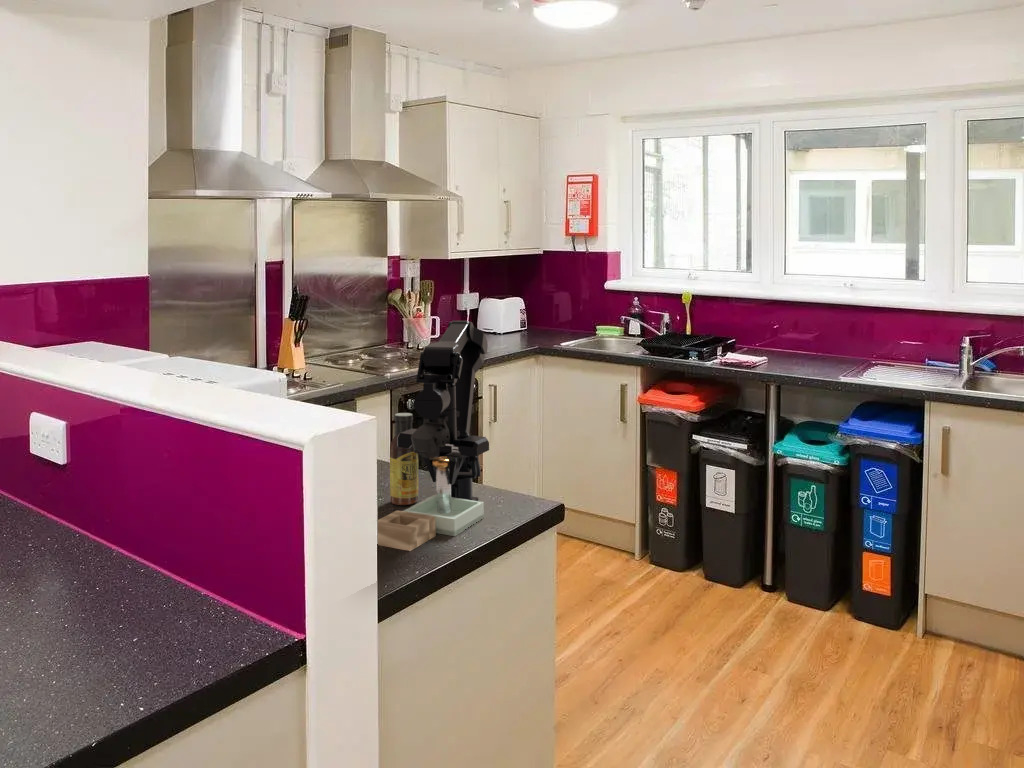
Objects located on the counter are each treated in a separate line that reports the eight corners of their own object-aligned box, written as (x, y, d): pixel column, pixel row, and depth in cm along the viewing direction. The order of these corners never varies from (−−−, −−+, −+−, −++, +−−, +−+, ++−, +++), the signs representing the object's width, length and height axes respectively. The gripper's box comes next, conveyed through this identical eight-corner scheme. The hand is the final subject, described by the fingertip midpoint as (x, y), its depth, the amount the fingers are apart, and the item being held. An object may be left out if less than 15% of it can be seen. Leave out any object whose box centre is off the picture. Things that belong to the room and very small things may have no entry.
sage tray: (434, 510, 191) (434, 494, 190) (484, 518, 185) (483, 502, 185) (403, 527, 180) (403, 510, 179) (454, 536, 175) (454, 519, 174)
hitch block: (397, 529, 179) (396, 510, 178) (435, 536, 175) (435, 516, 174) (371, 543, 171) (370, 523, 170) (410, 551, 167) (409, 530, 166)
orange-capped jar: (440, 506, 185) (439, 455, 183) (458, 509, 183) (457, 457, 181) (429, 512, 181) (427, 460, 179) (447, 515, 179) (446, 463, 177)
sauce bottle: (404, 508, 192) (402, 418, 188) (384, 503, 196) (381, 415, 192) (425, 501, 197) (423, 413, 194) (405, 496, 201) (402, 410, 197)
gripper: (380, 411, 175) (382, 487, 178) (462, 420, 167) (463, 500, 170) (411, 401, 185) (413, 473, 188) (489, 409, 177) (490, 484, 180)
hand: (443, 482), depth 181 cm, fingers closed on orange-capped jar, 4 cm apart
